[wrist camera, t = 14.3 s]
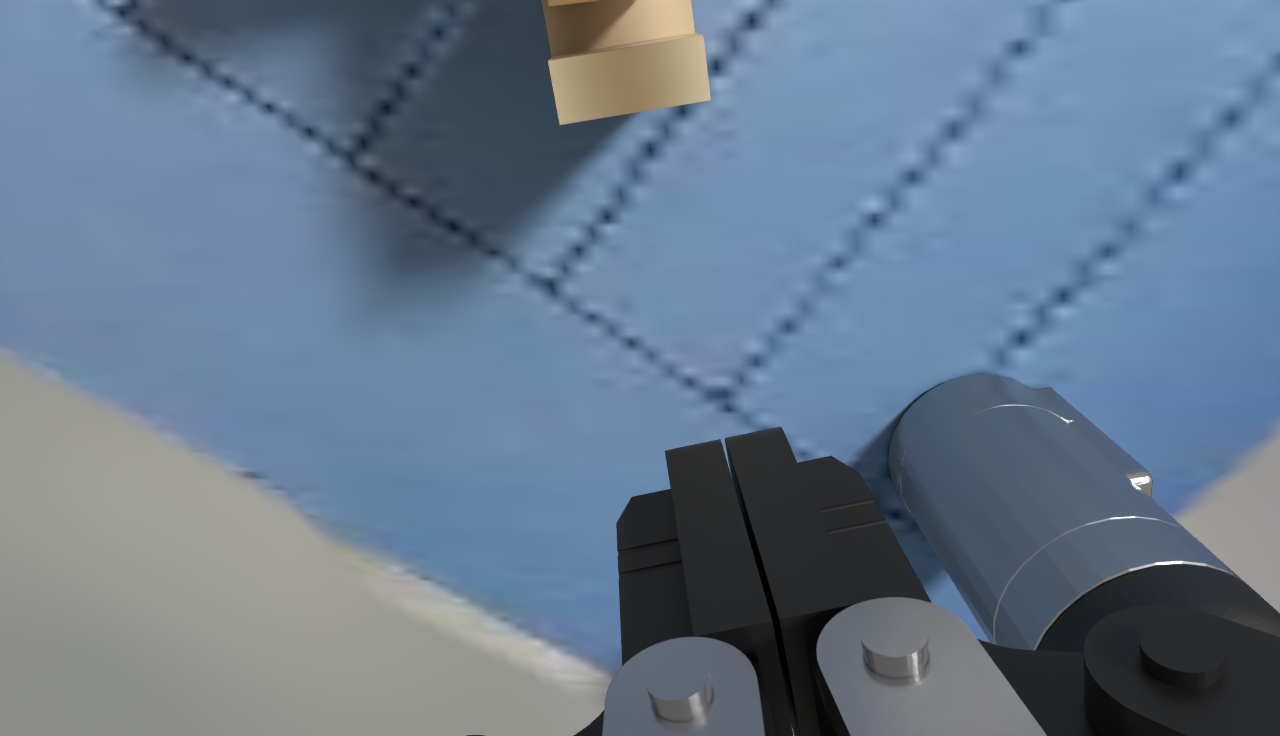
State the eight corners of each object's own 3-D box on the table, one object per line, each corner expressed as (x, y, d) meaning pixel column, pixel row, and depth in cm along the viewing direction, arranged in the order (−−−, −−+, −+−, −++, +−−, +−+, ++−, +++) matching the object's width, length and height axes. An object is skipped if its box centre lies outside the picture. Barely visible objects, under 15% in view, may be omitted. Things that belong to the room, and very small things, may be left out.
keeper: (656, -87, 38) (684, -125, 26) (676, 69, 41) (710, 100, 29) (542, -68, 38) (518, -97, 26) (569, 87, 41) (559, 124, 29)
